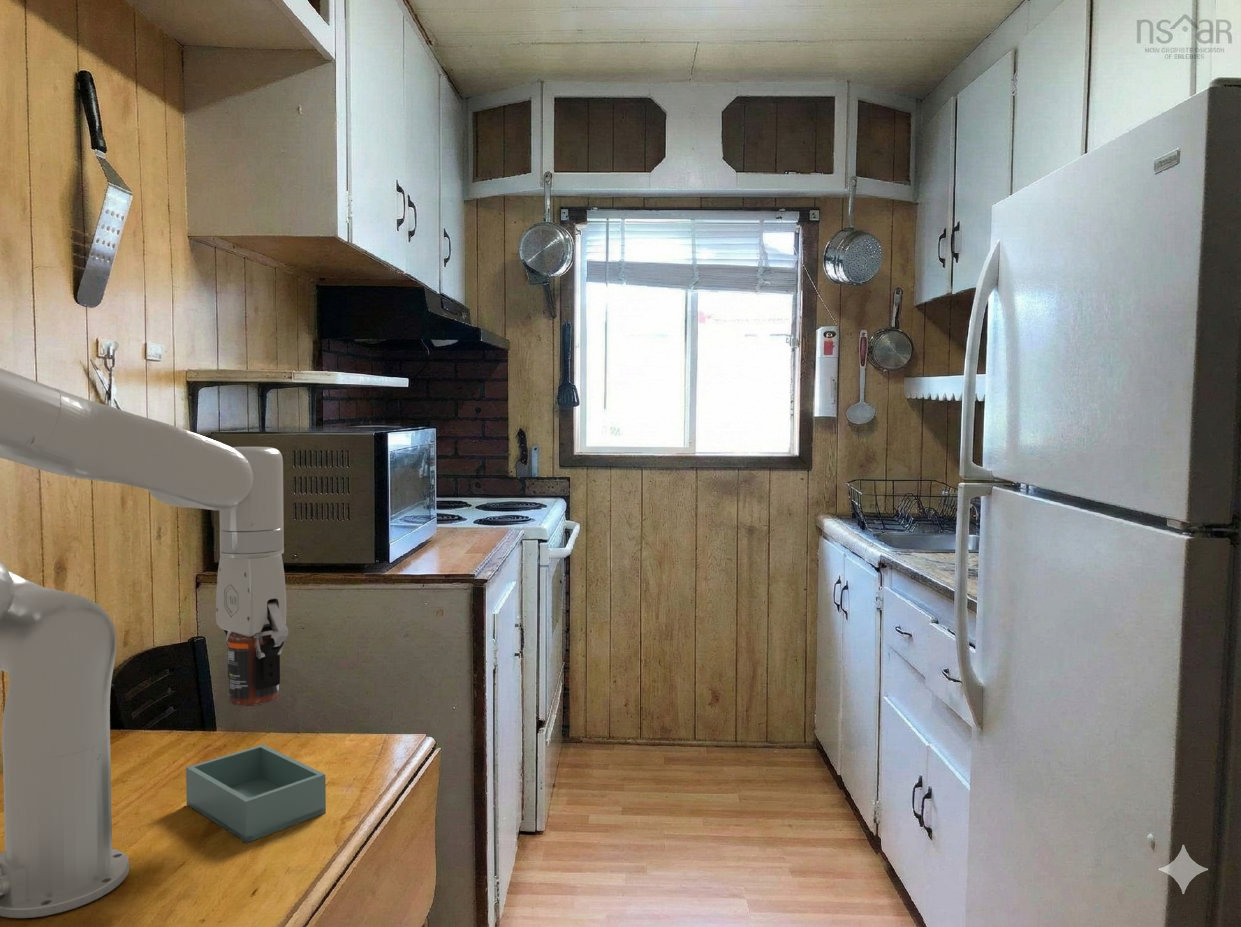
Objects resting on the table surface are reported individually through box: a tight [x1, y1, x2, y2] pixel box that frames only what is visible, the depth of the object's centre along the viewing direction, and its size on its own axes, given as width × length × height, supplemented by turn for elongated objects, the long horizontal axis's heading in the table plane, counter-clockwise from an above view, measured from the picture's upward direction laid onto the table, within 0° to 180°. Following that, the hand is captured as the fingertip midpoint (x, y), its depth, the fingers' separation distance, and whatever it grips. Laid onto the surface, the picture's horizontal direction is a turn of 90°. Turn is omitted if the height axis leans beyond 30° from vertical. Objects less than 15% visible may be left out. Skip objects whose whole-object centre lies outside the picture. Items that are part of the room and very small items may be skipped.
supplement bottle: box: [227, 626, 280, 707], centre depth 107 cm, size 6×6×11 cm
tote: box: [185, 744, 327, 844], centre depth 108 cm, size 10×16×5 cm, turn 51°
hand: (253, 680), depth 108 cm, fingers closed on supplement bottle, 6 cm apart
